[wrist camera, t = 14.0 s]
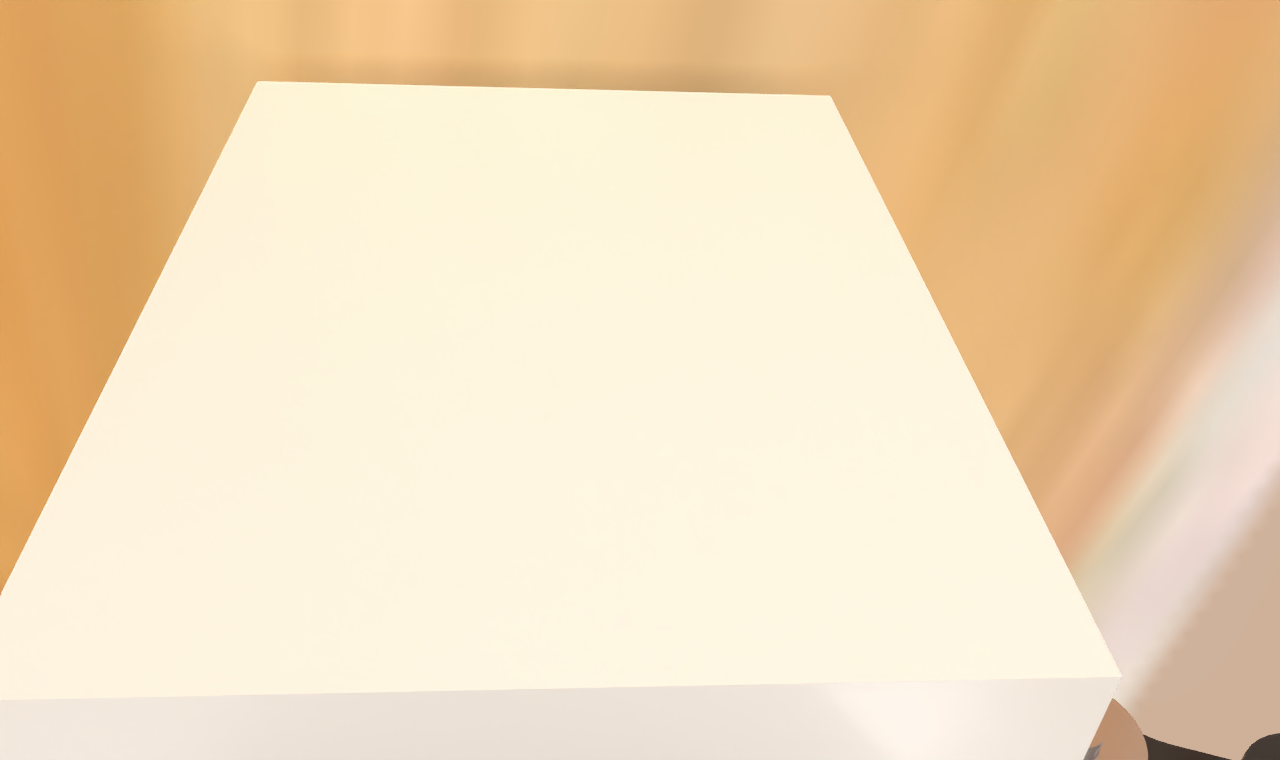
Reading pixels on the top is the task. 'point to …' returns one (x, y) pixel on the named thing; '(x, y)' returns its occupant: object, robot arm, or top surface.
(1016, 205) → the top surface
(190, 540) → the white block
